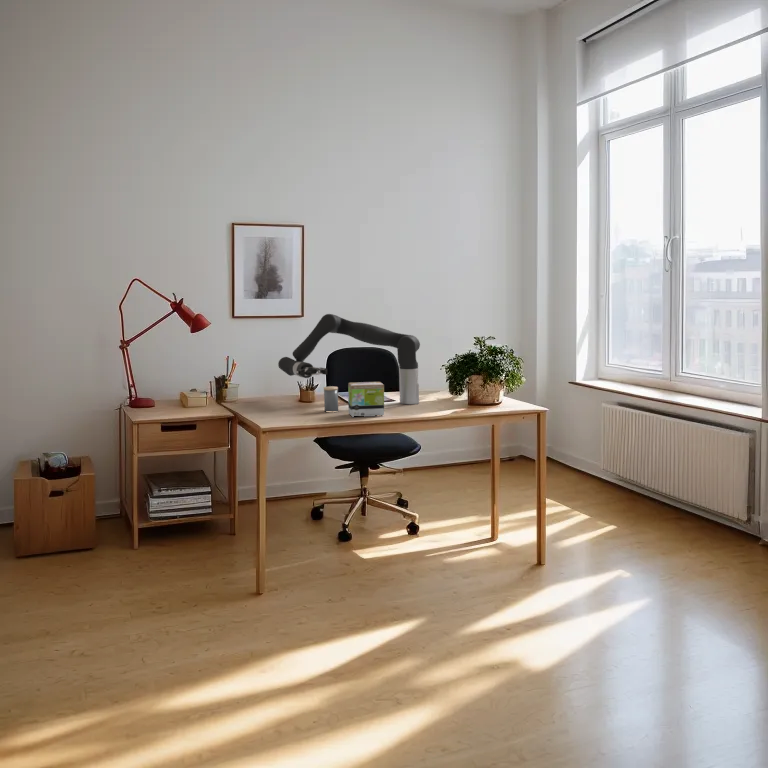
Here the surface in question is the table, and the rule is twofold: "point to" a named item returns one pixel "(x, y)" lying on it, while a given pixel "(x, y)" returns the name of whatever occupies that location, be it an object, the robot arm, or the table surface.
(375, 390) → the tea box
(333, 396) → the canister
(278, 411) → the table surface
